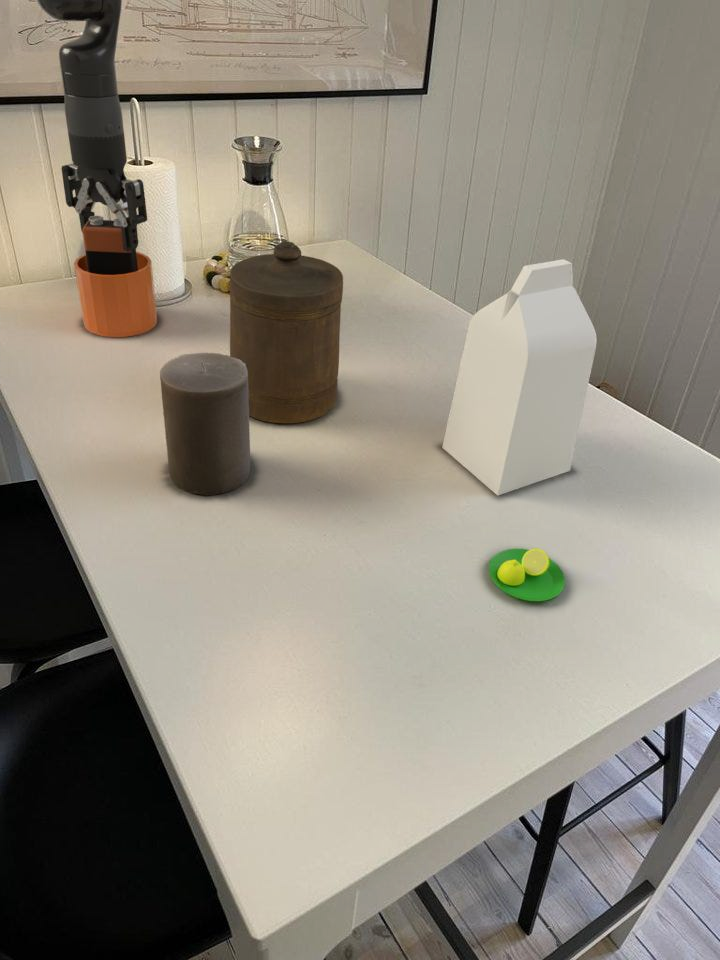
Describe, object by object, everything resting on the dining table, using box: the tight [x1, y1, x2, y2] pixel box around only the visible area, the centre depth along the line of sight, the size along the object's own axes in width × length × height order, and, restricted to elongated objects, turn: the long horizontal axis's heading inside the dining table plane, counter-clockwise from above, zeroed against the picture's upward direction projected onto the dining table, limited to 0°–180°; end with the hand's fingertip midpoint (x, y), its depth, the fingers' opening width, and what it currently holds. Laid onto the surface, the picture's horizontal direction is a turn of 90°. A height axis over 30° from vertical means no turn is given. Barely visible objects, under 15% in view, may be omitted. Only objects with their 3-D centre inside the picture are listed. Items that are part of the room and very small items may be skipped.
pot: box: [73, 251, 158, 338], centre depth 120 cm, size 11×11×10 cm
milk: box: [441, 258, 598, 496], centre depth 90 cm, size 12×12×26 cm
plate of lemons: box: [488, 548, 566, 602], centre depth 79 cm, size 8×8×3 cm
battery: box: [81, 215, 138, 275], centre depth 116 cm, size 4×7×10 cm, turn 93°
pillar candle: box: [159, 352, 252, 496], centre depth 87 cm, size 10×10×15 cm
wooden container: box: [229, 241, 344, 424], centre depth 100 cm, size 15×15×22 cm
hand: (110, 243), depth 115 cm, fingers closed on battery, 8 cm apart
